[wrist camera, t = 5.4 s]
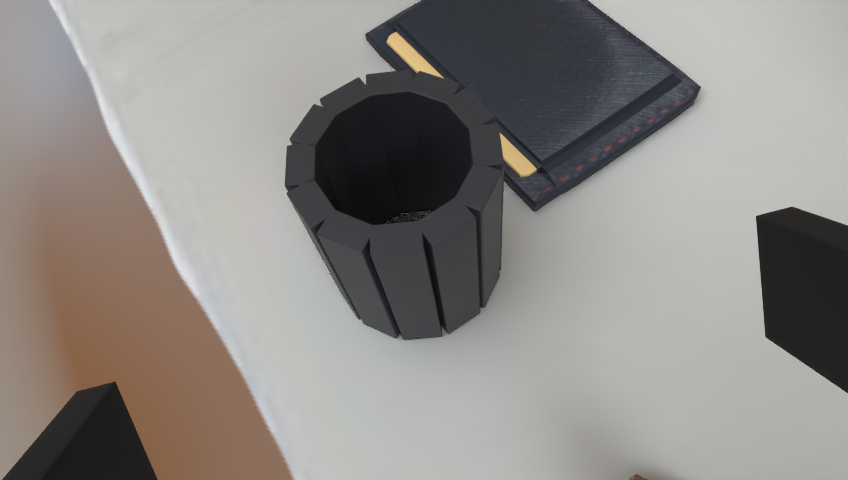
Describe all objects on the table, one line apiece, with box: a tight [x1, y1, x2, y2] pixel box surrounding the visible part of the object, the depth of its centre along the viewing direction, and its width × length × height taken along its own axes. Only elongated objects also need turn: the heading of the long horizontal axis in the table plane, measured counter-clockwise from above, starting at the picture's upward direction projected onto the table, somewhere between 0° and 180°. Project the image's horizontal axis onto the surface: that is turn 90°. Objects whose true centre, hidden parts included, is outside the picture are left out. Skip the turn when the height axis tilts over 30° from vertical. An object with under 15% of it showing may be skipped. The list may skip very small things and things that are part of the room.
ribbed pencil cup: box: [285, 70, 504, 340], centre depth 34 cm, size 10×10×12 cm
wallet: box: [365, 0, 701, 211], centre depth 45 cm, size 20×2×15 cm
